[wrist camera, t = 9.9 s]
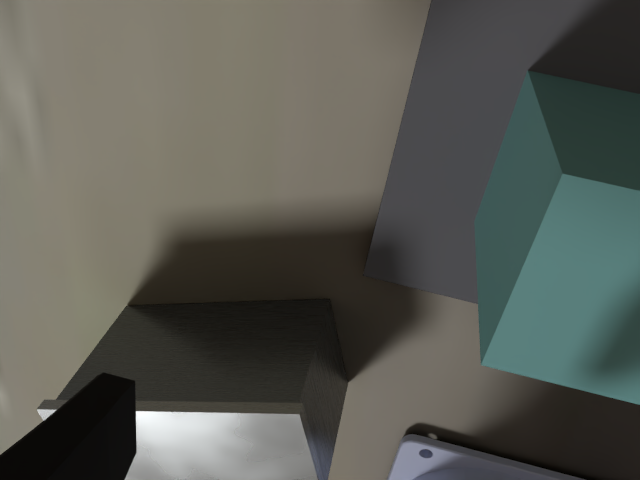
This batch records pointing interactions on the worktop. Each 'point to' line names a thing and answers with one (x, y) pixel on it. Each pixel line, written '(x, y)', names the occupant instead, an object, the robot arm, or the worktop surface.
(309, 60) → the worktop surface
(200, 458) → the control box
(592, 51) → the mat
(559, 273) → the teal block
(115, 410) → the robot arm
